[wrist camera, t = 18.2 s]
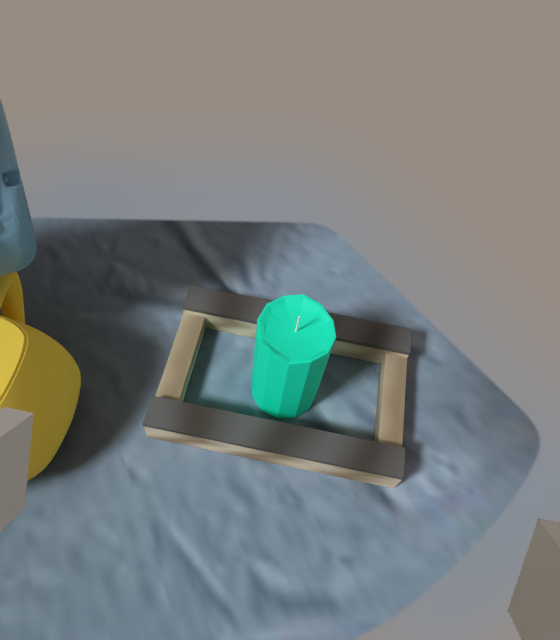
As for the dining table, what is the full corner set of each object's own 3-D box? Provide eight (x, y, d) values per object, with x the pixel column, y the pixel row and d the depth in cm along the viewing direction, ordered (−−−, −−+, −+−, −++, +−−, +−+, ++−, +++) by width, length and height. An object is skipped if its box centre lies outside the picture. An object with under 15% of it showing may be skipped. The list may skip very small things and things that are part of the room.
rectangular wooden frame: (147, 437, 45) (142, 423, 42) (192, 302, 52) (190, 284, 50) (393, 488, 44) (403, 478, 42) (402, 345, 52) (411, 329, 49)
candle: (258, 352, 50) (267, 275, 40) (321, 366, 50) (345, 292, 40) (244, 411, 47) (248, 343, 36) (310, 425, 46) (334, 361, 36)
